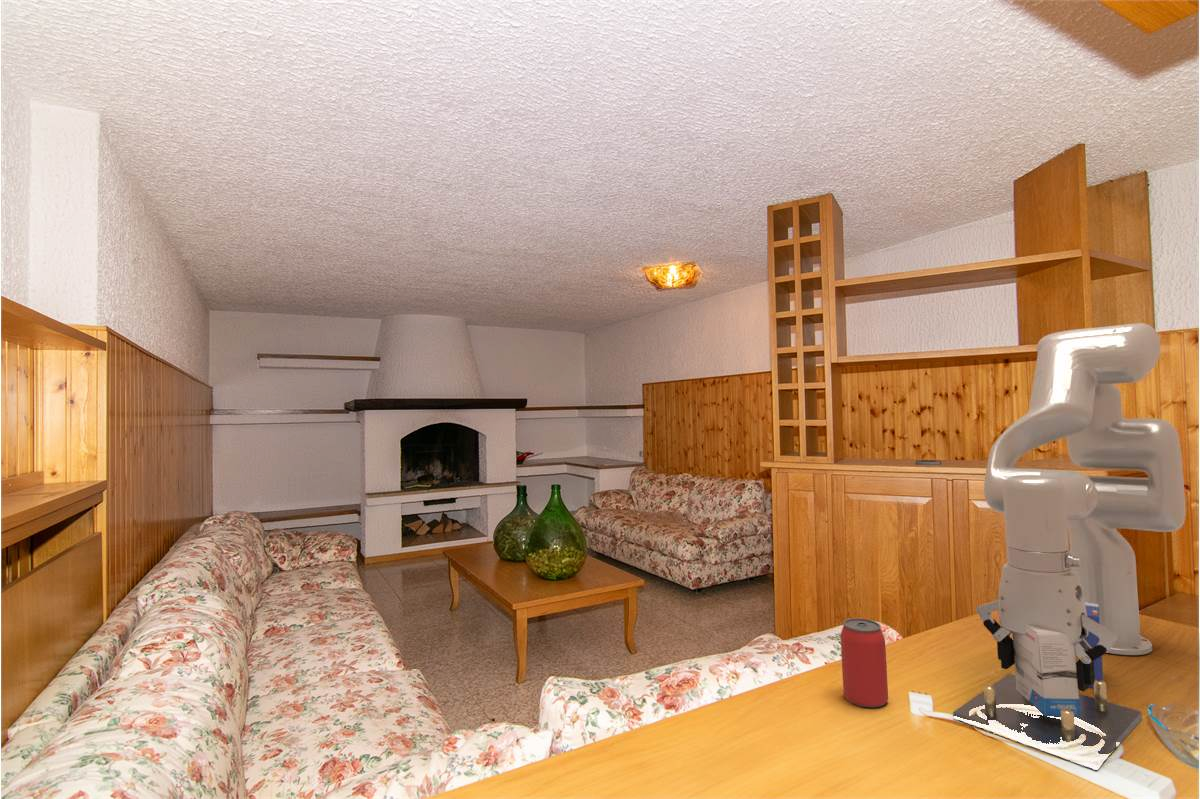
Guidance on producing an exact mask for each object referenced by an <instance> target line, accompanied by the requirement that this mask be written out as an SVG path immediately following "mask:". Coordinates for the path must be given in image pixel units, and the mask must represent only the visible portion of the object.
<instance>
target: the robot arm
mask: <svg viewBox="0 0 1200 799" xmlns="http://www.w3.org/2000/svg"><path fill="white" fill-rule="evenodd" d="M1036 351H1037V352H1036V353H1037V357H1036V362H1035V368H1034V375H1033V381H1032V387H1031V393H1030V394H1031V395H1030V400H1029V406H1028V407H1029V408H1028V412H1026V414H1024V415H1022V416H1021V417H1019V418H1018V419H1017V420H1015V421H1014V422H1013V423H1012V424H1011V425H1009V427H1007V428H1006V429H1005V430H1004V431H1003V432H1002V434H1000V435H999V437H998V438H997V439H996V441H995V442H994V443H993V445H992V446H991V449H990V452H989V455H988V458H987V459H988V460H987V466H986V470H985V477H984V482H983V483H984V485H983V494H984V498H985V499H984V500H985V502H986V504H987V505H988V506H989V507H990V508H991V509H992V510H994V511H995V512H997V513H999V514H1000V513H1001V514H1003V515H1004V529H1005V531H1004V532H1005V533H1004V534H1005V544H1006V545H1005V547H1006V548H1005V549H1006V562H1005V563H1004V564H1003V565H1002V567H1001V568H1002V569H1001V573H1000V580H999V589H998V599H997V600H993V601H990V602H987V603H983V604H980V605H978V606H977V607H976V608H975V611H976V613H977V614H978V616H979V618H980V619H981V621H982V622H983V626H984V627H985V628H986V629H987V631H988V632H990V634H991V635H992V636H993V640H994V641H996V645H997V647H996V648H997V650H996V651H997V659H998V661H1000V667H1001V669H1004V670H1008V669H1009V668H1011V667H1012V666H1015V662H1014V648H1013V637H1011V636H1010V635H1012V632H1013V633H1017V634H1021V635H1025V633H1026V625H1030V626H1034V627H1038V628H1042V629H1047V630H1051V631H1055V632H1059V633H1063V634H1065V635H1067V636H1068V639H1069V643H1070V644H1072V645H1074V646H1075V656H1077V658H1078V660H1076V670H1077V681H1078V691H1080V692H1085V691H1087V690H1088V689H1089V688H1091V687H1090V686H1091V685H1093V684H1094V683H1095V673H1094V660H1095V659H1097V658H1099V657H1100V656H1102V657H1103V656H1104V655H1105V654H1113V655H1119V656H1120V655H1122V656H1143V655H1147V654H1150V653H1151V652H1152V651H1153V643H1152V641H1150V640H1149V639H1148V638H1146V637H1145V636H1141V626H1140V625H1141V624H1140V610H1139V595H1138V593H1139V592H1138V581H1137V580H1138V579H1137V577H1138V576H1137V561H1136V559H1137V558H1136V554H1135V550H1134V549H1133V547H1132V546H1131V544H1130V542H1128V540H1127V539H1126V538H1125V537H1123V535H1122V534H1121V533H1120V532H1119V531H1118V530H1117V529H1125V530H1126V529H1128V530H1137V531H1147V532H1148V531H1149V532H1150V531H1151V532H1159V533H1161V532H1162V533H1163V532H1164V533H1169V532H1171V533H1172V532H1177V531H1179V530H1180V529H1181V528H1182V527H1183V525H1184V524H1185V522H1186V515H1187V514H1186V512H1187V511H1186V509H1187V507H1186V495H1185V484H1184V483H1185V481H1184V471H1183V470H1184V469H1183V467H1184V466H1183V457H1182V456H1183V454H1182V448H1181V447H1182V446H1181V441H1180V437H1179V434H1178V432H1177V430H1176V428H1175V426H1174V425H1173V424H1172V423H1171V422H1169V421H1167V420H1165V419H1160V418H1152V417H1151V418H1150V417H1149V418H1147V417H1146V418H1137V417H1136V418H1125V417H1124V415H1123V406H1122V394H1121V391H1120V389H1119V388H1118V387H1117V385H1116V384H1132V383H1138V382H1141V381H1142V380H1143V379H1145V378H1146V377H1147V376H1148V375H1149V373H1150V372H1151V371H1152V370H1153V369H1154V368H1155V367H1156V365H1157V363H1158V362H1159V358H1160V355H1161V339H1160V337H1159V334H1158V333H1157V331H1156V329H1155V328H1154V327H1153V326H1151V325H1150V324H1147V323H1143V322H1140V323H1139V322H1138V323H1126V324H1117V325H1109V326H1107V325H1106V326H1098V327H1088V328H1087V327H1086V328H1076V329H1070V330H1069V329H1068V330H1062V331H1057V332H1053V333H1049V334H1047V335H1045V336H1043V337H1042V338H1041V339H1040V340H1039V341H1038V342H1037V346H1036ZM1064 438H1066V445H1067V446H1066V447H1067V452H1068V456H1069V459H1070V460H1071V463H1073V464H1074V465H1075V466H1077V467H1080V468H1087V469H1095V470H1120V471H1140V472H1143V473H1145V474H1146V475H1147V477H1134V476H1133V477H1131V476H1129V477H1128V476H1127V477H1126V476H1117V475H1113V476H1112V475H1110V476H1109V475H1086V474H1084V473H1081V472H1078V471H1076V470H1075V471H1074V470H1068V469H1067V470H1065V469H1044V468H1043V469H1042V468H1018V467H1014V465H1015V464H1016V462H1017V461H1018V460H1019V459H1020V458H1021V457H1023V456H1024V455H1025V454H1026V453H1028V452H1030V451H1032V450H1034V449H1036V448H1038V447H1041V446H1045V445H1047V444H1049V443H1053V442H1056V441H1059V440H1061V439H1064ZM1085 602H1088V603H1093V604H1098V607H1099V617H1100V618H1099V620H1100V624H1098V623H1097V622H1095V621H1094V620H1092V619H1090V618H1089V617H1087V611H1086V605H1085ZM995 611H998V619H999V620H998V621H999V622H997V620H996V619H995V618H993V615H992V612H995ZM1089 631H1090V632H1091V633H1093V634H1095V635H1096V636H1098V637H1099V639H1100V641H1099V642H1098V644H1097V645H1096V646H1094V647H1093V648H1092V647H1091V646H1090V645H1089V644H1088V643H1087V641H1086V640H1085V639H1084V638H1087V636H1088V633H1089Z"/></svg>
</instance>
